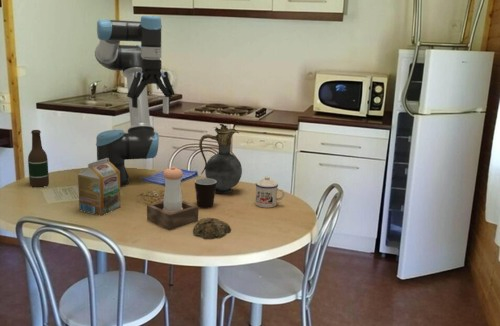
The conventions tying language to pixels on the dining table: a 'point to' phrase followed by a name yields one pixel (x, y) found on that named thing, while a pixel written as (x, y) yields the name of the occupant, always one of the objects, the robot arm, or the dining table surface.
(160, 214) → the square wooden tray
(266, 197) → the teacup with lid
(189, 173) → the dish towel
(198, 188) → the coffee mug
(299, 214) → the dining table surface
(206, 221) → the bread roll
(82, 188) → the milk carton
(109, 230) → the dining table surface
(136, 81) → the robot arm
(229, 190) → the pitcher
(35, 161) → the beer bottle
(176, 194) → the pepper shaker
